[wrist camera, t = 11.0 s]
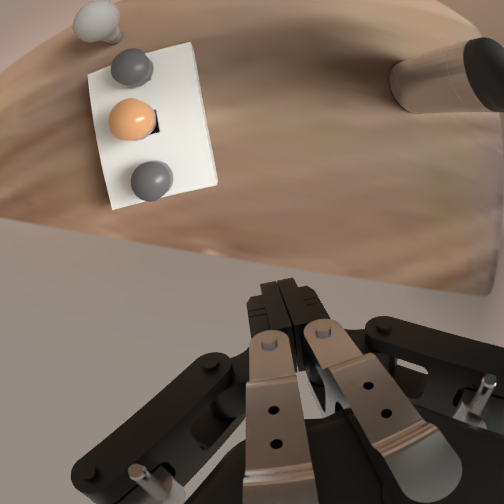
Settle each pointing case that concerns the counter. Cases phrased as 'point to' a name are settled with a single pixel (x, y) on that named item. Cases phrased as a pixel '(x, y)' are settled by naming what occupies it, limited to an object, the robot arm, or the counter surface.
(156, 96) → the mounting board
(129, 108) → the middle terracotta knob
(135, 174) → the charcoal knob
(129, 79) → the charcoal knob
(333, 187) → the counter surface
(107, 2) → the lightbulb
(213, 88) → the counter surface
